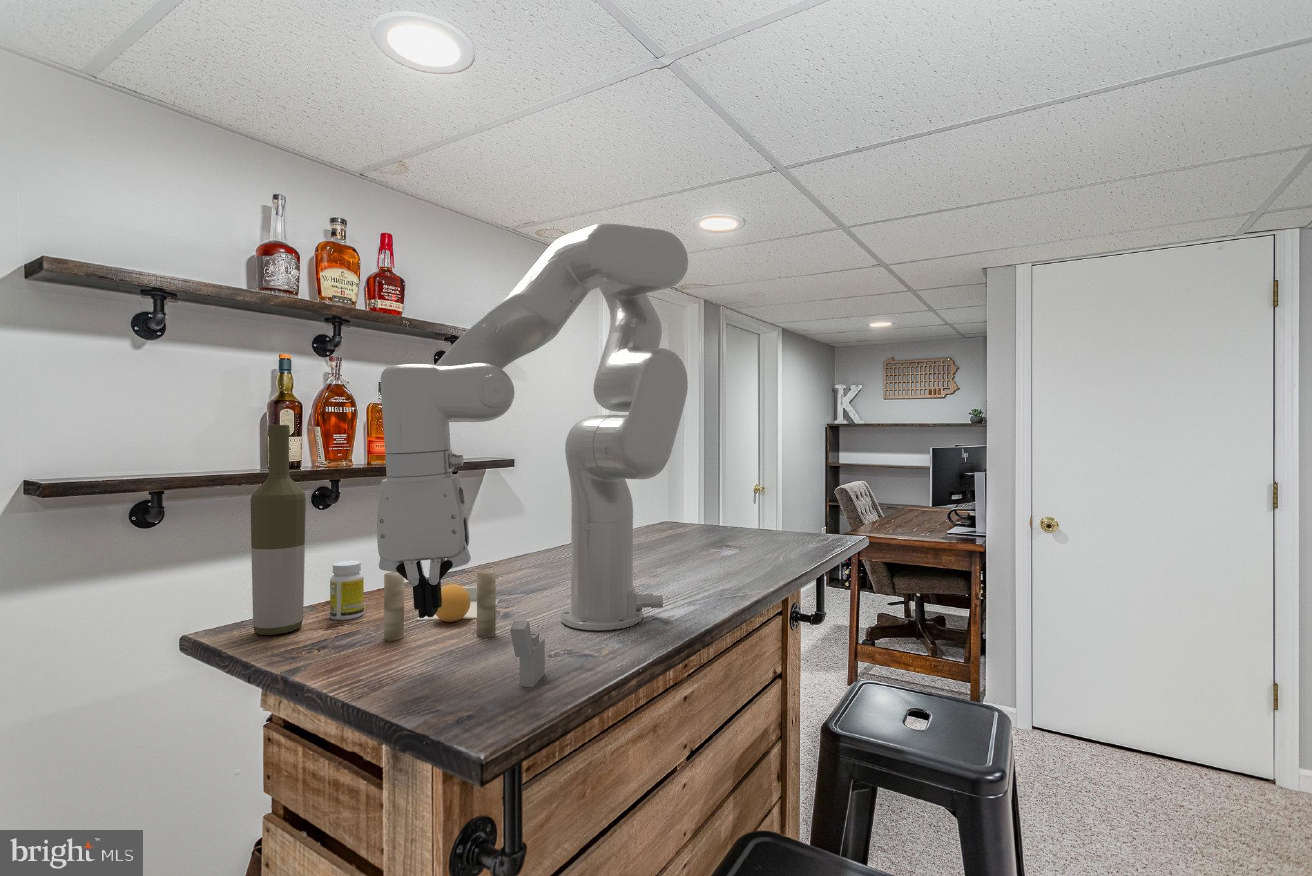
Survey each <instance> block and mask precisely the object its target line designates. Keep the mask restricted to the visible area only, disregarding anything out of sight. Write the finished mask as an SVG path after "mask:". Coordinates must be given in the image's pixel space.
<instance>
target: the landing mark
mask: <svg viewBox="0 0 1312 876" xmlns="http://www.w3.org/2000/svg"><path fill="white" fill-rule="evenodd" d="M499 602H500V599H499V598H498V599H497V598H496V606H497V605H498V603H499ZM415 619H416V621H432V620H433V621H436V620H437V621H438V620H439V621H440V620H441V619H439V618H438V617H437V616H436V615H434V616H433V617H430V618H428V617H427V616H426V617H424V618H419V616H418V617H416V618H415ZM472 619H474V620H475V619H476V620H477V601H471V603H470V608H469V610H468V612H467V614H466V615H465V616H464V617H463V618H461V619H460V620H472ZM441 621H442V620H441Z"/></svg>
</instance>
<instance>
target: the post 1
mask: <svg viewBox="0 0 1312 876" xmlns="http://www.w3.org/2000/svg"><path fill="white" fill-rule="evenodd" d="M403 638H405V578H404V577H403V576H401V575H400V574H399V573H398V572H390V571H389V572H386V573H384V575H383V640H385V641H387V642H388V641H389V642H390V641H391V642H392V641H399V640H403Z"/></svg>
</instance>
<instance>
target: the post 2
mask: <svg viewBox="0 0 1312 876" xmlns="http://www.w3.org/2000/svg"><path fill="white" fill-rule="evenodd" d="M496 573H497V572H496V570H491V569H484V570H483V569H482V570H479V571H477V572H476V586H477V619H476V637H477V638H482V639H485V638H486V639H489V638H492V637H493V638H494V637H495V636H496V634H497V633H496V629H497V628H496V626H497V625H496V623H497V621H496V620H497V619H496V618H497V617H496V615H497V614H496V609H497V607H496V606H497V605H496V599H497V582H496V581H497V578H496V575H497V574H496Z"/></svg>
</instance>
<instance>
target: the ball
mask: <svg viewBox="0 0 1312 876" xmlns="http://www.w3.org/2000/svg"><path fill="white" fill-rule="evenodd" d="M441 587H442V588H441V594H442V606H441V607H440V608H438V611H437V612H436V614H435V615H436V616H437V617H438V618H439V619H441V621H443V622H447V623H451V622H452V623H454V622H457V621H459V620H462V619H461V618H463V617H464V616H465V615H466V614H467V612H468V610H469V608H470V603H471V600H470V596H469V593H468V592H467V590H466V589H465V588H463V587H464V586H462V585H459V584H454V583H453V584H452V583H450V584H446V585H444V586H441Z"/></svg>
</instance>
